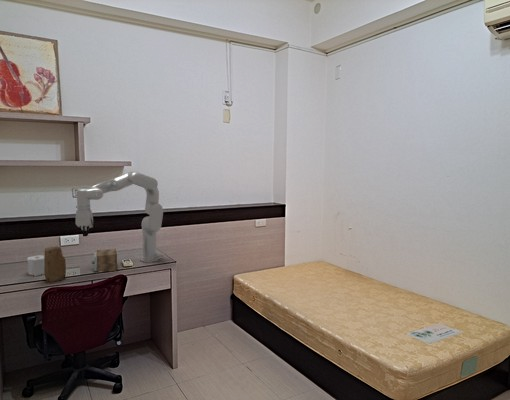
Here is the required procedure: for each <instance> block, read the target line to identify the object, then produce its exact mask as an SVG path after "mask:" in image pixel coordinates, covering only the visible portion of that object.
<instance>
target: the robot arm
mask: <svg viewBox="0 0 510 400" xmlns="http://www.w3.org/2000/svg"><path fill="white" fill-rule="evenodd" d="M132 185H134V186H138V187H140V188H143V189H144V191H145V193H146V199H145V204H144V205H145V207H144V212H145V213H146V214H147V215H148V216H145V217H144V218H142V221H141V231H142V256H141V257H140V261H141V262H142V263H143V262H144V263H153V261H154V262H158V260H159V258H163V257H164V254H163V253H157V232H159V231H160V230H161V228H162V224H163V223H162V222H163V218H164V217H163V216H164V208H163V206H162V205H161V204H160V203H159V200H160V191H159V189H158V186H159V184H158V180H157V179H156V178H154V177H152V176H149V175H145V174H144V173H140V172H138V171H129V172H126V173H123V174H122V175H118V176H117V177H114V178H111V179H109V180H105V181H103V182H98V183H97V184H95V185H92V186H90V187H89V188H78V189H76V206H75V207H76V212H75V225H76V227H78V228H80V229H81V232H82V237H89V229H91V228H94V216H93V211H92V209H91V200H92V201H94V200H95V201H96V200H97V201H98V200H101V199H103V197H104V194H107V193H111V192H117V191H121V190H123V189H124V188H127V187H129V186H132Z"/></svg>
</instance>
